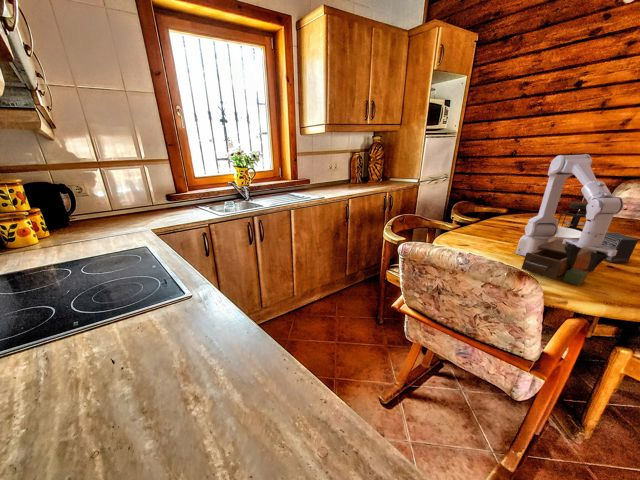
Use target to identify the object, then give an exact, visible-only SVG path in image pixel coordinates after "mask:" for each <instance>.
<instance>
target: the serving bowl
mask: <svg viewBox="0 0 640 480" xmlns="http://www.w3.org/2000/svg"><path fill="white" fill-rule="evenodd" d="M581 233H582V232H581V231H578V230H575V229H571V228H565V227H564V226H562V227H561V226H559V225H558V232H557V234H556V235H555V236H553V237H552V238H551V239H549V241H548V242H551V241H554V240H562V241H563V240H564V239H565V238H570V239H575V240H579V238H580V236H581Z"/></svg>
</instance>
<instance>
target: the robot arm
mask: <svg viewBox="0 0 640 480" xmlns="http://www.w3.org/2000/svg"><path fill="white" fill-rule="evenodd" d="M592 165H593V159H592V157H591V155H590V154H588V153H584V154H565V155H563V154H559V155H557V156H555V157H554V158H553V159H552V160H551V162H550V165H549V168H548V172H547V176H548V180H547V184H546V187H545V190H544V194H543V196H542V201H541V204H540V207H539V211H538V213H537V215H535V216H533V217H530V218H529V220H528V222H527V224H526V226H525V227H524V233H525V234H523V235H522V236H521V237H520V238H519V240H518V244H517V247H516V250H515V252H514V254H515V255H519V256H523V257H525V256H526V253H527V252H529V253H532V252H535V251H537V248H538V246H539V245H542V244H545V243H548V241H549V239H551V238H552V237H553V236H555V235H556V234H557V232H558V226H559V224H558V223H560V221H558V220H559V219H557V218H556V217H555V215H556V212H557V211H556V210H557V209H558V205H559V202H560V198H561V195H562V192H563V189H564V186H565V183H566V180H567V179H568V178H570V177H571V176H575V178H577V180H578V181H579V182H580V184H581V186H582V187H581V190H580V193H581V192H582V193H581V194H582V195H583V197H585V198H584V199H585V200H586V203H588V204H587V207H586V209H585V211H586V212H587V214H586V217H585V219H586V220H585V223H584V224H585V225H584V226H583V227H582V229H583V231H582V233H581V236H580V238H579V240H575V239H570V238H565V239H564V240H563V244H568V245H567V246H565V248H564V249H565V251H566V254H567V265H573V264H574V262H575V259H576V257H577V255H578V253H579V251H580V250H581V248H583V249H587V250H591V251H595V252H596V253H592V254H591V259H590V263H589V266H588V268H587V269H586V272H588V273H590V272H594V271H595V269H596V268H597V267H598V266H599V265H600V264H601V263H603V261H606V260H605V259H606V258H607V257H609V256H615V255H616V253H617V250H614V249H611V248H608V247H605V246H602V245H601V244H602V242H603V239H604V237H605V235H606V232H608V231H609V228H610V226H611V223H612V220H613V218H614V216H615V215H618V214H619V213H620V212H621V211H622V210H623V208H624V200H623V198H622V197H620V196H616V195H614V194H612V192H611V191H610V190H609V188H608V186H607V185H606V183H605V181H603V180H598V179H597V178H596V175H595V173H594V171H593V169H592Z"/></svg>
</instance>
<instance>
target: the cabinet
mask: <svg viewBox="0 0 640 480" xmlns="http://www.w3.org/2000/svg"><path fill="white" fill-rule="evenodd" d="M567 245H568V244H563V241H562V240H554V241H551V242H548V243H545V244H542V245H539V246H538V248H537V251H538V250H541V249H546V250H550V251H554V252H558V253H562V254H566V251H565V249H564V248H565V246H567ZM594 252H595V251H591V250H587V249H583V248H581V250H580V251H579V253H578V255H577V257H576V259H575V262H574V264H573V265H571V266H570V269H572V268H574V269H578V270H582V271H585V270H586V271H587V268H588V266H589V263H590V259H591V254H592V253H594ZM566 255H567V254H566ZM570 269H569V270H570ZM565 274H566V273H564V274H562V275H561V276H565Z"/></svg>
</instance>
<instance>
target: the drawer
mask: <svg viewBox="0 0 640 480" xmlns="http://www.w3.org/2000/svg"><path fill="white" fill-rule="evenodd" d="M521 265H522V266H521V268H520V269H521V270H523V271H526V272H529V273H532V274H536V275H539V276H541V277H545V278H548V279H551V280H558V277H559V276H563V275H562V274H564V273H566V272H567V270H569V269H570V266H571V265H567V255H566V254H562V253H558V252H554V251H550V250H546V249H541V250H538V251H535V252H532V253H529V252H527V253H526V256H524V259H523V262H522V264H521Z"/></svg>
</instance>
